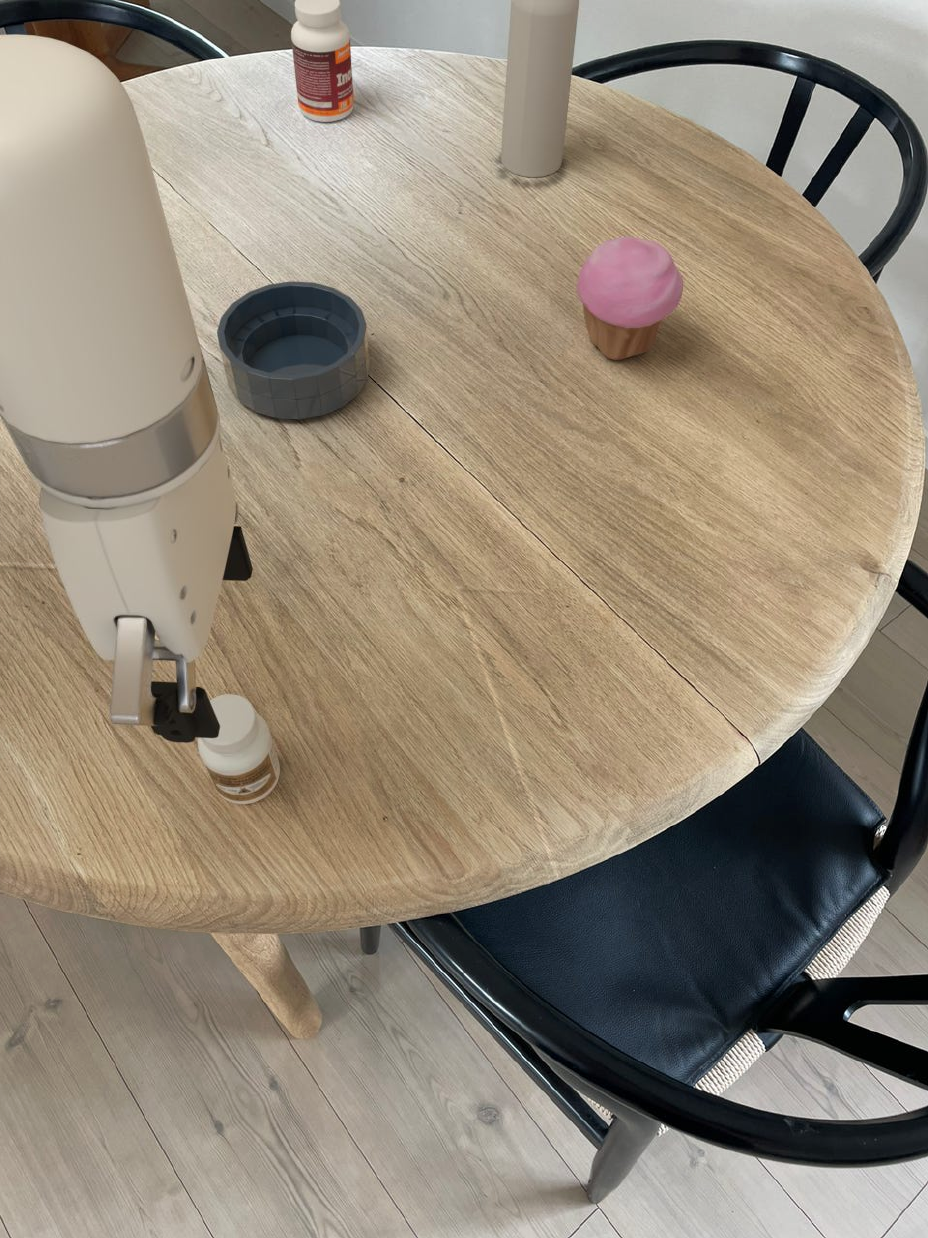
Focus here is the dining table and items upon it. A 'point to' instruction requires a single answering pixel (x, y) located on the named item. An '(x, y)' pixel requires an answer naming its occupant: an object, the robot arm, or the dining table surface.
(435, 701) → the dining table surface
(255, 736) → the pill bottle
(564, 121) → the bottle
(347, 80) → the pill bottle
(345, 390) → the bowl
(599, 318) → the cupcake
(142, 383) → the robot arm
